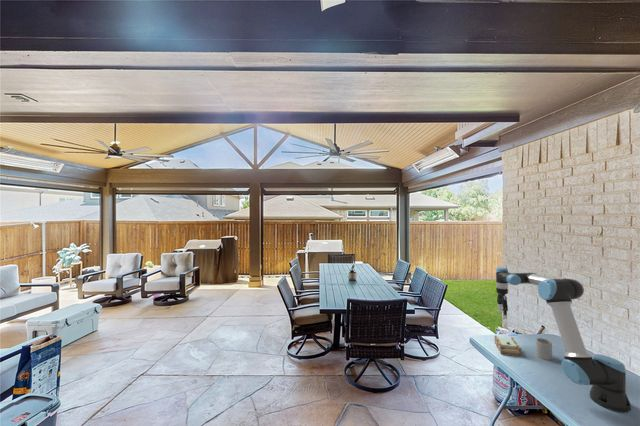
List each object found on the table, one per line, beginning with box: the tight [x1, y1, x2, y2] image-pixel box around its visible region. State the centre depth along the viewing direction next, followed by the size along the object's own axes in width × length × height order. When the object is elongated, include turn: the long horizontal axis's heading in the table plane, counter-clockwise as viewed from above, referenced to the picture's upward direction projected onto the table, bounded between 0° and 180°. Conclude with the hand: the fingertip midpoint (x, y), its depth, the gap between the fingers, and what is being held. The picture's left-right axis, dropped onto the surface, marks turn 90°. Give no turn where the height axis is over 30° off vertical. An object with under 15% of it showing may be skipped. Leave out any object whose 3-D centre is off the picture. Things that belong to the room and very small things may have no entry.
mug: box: [535, 337, 553, 361], centre depth 193 cm, size 12×8×11 cm
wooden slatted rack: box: [494, 335, 522, 357], centre depth 202 cm, size 16×12×6 cm
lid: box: [497, 336, 517, 349], centre depth 203 cm, size 12×9×3 cm
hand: (502, 315), depth 213 cm, fingers open, 12 cm apart
